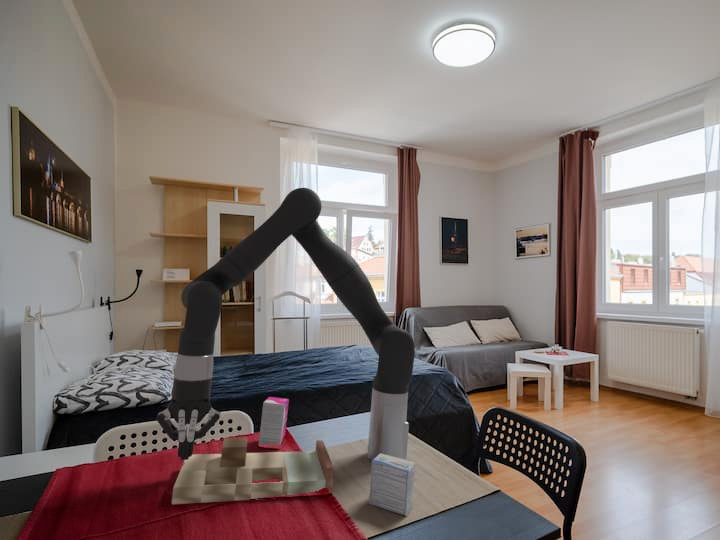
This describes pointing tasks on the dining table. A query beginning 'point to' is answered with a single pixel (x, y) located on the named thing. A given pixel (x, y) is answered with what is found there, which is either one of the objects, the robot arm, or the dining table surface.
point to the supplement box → (273, 421)
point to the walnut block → (233, 452)
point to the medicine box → (392, 484)
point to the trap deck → (253, 476)
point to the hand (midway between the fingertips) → (184, 458)
